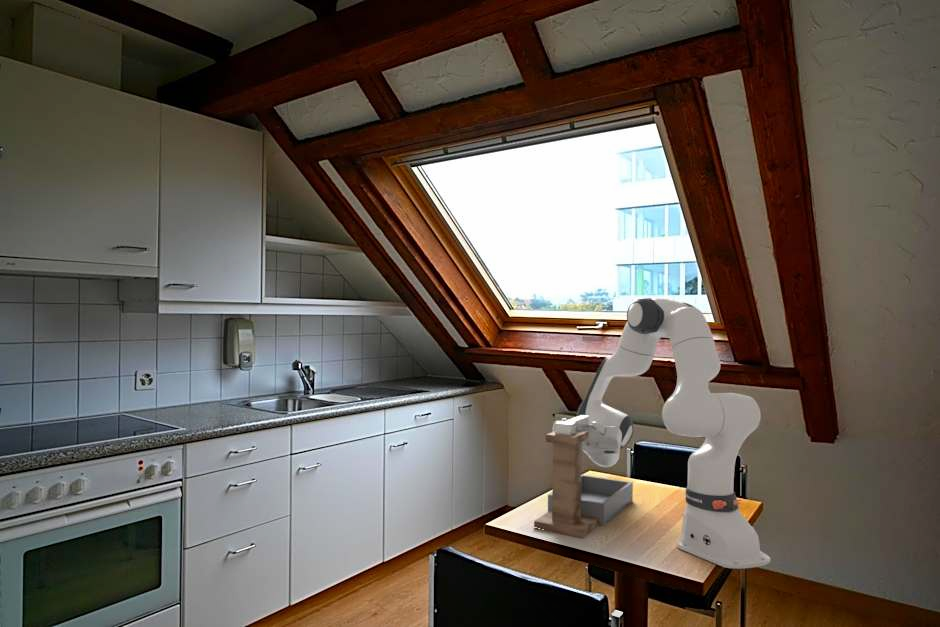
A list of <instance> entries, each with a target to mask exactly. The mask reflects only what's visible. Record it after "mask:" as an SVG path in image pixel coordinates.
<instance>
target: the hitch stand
mask: <svg viewBox="0 0 940 627" xmlns="http://www.w3.org/2000/svg"><path fill="white" fill-rule="evenodd" d="M588 433H589V431H580V430H579V431H576V434H574V435H571V436H567V435H558V434H555V431H554V432H549V433H547V434H545V436H546V437H545V442H546V443H552V492H553V493H552V492H551V493H552V510H551V511H549V512H548V511H547V512H546V513H544V514H543V515H541V516H539V517H538V518H537V519H535V520H534V522H533V528H534V527H537V528H540V529H544V530H547V531H546V532H549V531H551V533H556V534H559V533H560V534H561V535H564V534H565V536H569V537H573V536H575V537H574V538H578V537H580V539H584V538H585V537H586V536H587V535H588V534H590V533H591V532H592V531H594V529H596V528H597V527H598V526H599V525H598V518H594V517H589V516H584V515H581V475H582V462H583V461H582V459H583V458H582V457H583V456H582V454H583V453H582V451H583V450H582V441H584V440H586V439H588ZM595 527H596V528H595ZM540 529H539V530H540ZM544 530H543V531H544ZM589 532H590V533H589ZM583 537H584V538H583Z"/></svg>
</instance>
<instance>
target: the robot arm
mask: <svg viewBox="0 0 940 627" xmlns="http://www.w3.org/2000/svg"><path fill="white" fill-rule="evenodd" d="M626 320H627V321H626V323H625V325H624V327H623V330H622V332H621V335H620V338H619V341H618V344H617V348H616V350H615V351H614V352H613V354H612V355H607V356H606V357H605V358H604V359H603V360H602V362H601V364H599V367H598V369H597V371H596V372H595V375H594V377H593V380H592V382H591V384H590V386H589V389H588V390H587V393H586V395H585V397H584V399H583V400H582V401H581V403H580V404H579V407H578V409H577V412H576V417H578V416H580V415H585V416H589V424H588V427H586V428H583V429H581V430H580V431H589V433H588V439H586V440H584V441H582V451H583V453H585V455H586V456H587V457H588V458H589V459H590V460H591V461H592V462H593V463H595V465H597V466H599V467H603V468H610V467H612V466H614V465H615V464H616V463H617V462H618V460H619V459H620V451H621V450H623V449H624V448H625V447H626V446H627V445H628V444H629V442H630V441H631V439H632V438H633V435H634V422H633V419H632V418H631V416H630V415H629V414H626V413H625V412H622V411H621V410H618V409H616V408H614V407H611V406H609V405H607V404H605V403H604V402H603V397H604V395H605V393H606V391H607V388H608V387H609V384H610V383H611V380H612V379H613V378H615V377H624V378H625V377H637V376H641V375H643V374H644V373H646V372H647V371H649V369H650V367H651V364H652V362H653V360H654V356H655V353H656V349H657V345H658V343H659V340H660V339H661V338H664V339H665V338H666V339H669V341H670V346H671V350H672V354H673V360H674V363H675V370H676V376H677V378H676V386H675V389H674V390H673V393H672V394H671V395H670V396H669V397H668V398H667V399H666V401H665V403H664V404H663V406H662V410H661V415H662V416H661V417H662V422H663V425H664V426H665V427H666V429H667V430H668V431H669V433H670V434H672V435H673V434H674V435H677V436H681V437H682V436H683V437H689V438H698V437H699V438H700V437H701V438H702V437H705V440H704V441H703V443H702V445H701V446H700V447H699V448H698V449H695V451H693V452H692V453H691V454H690V455H689V458H688V459H687V460H688V461H687V486H686V487H685V493H684V494H685V502H686V506H685V510H684V513H683V517H682V525H681V531H680V532H681V534H680V539H679V541H678V542H677V548H678V549H680V550H681V551H685V552H687V553H689V554H692V555H694V556H696V557H698V558H701V559H703V560H706V561H708V562H711V563H713V564H715V565H718V566H720V567H722V568H725V569H726V568H727V569H736V570H737V569H751V568H758V567H763V566H765V565H769V564H770V563H771V561H772V560H771V557H770V556H769V555H768V554H766V553H764V552H763V551H761V549H760V548H761V547H760V539H759V535H758V533H757V532H756V530H755V528H754V527H753V526H751V524H750V523H749V522H748V520H747V519H746V517H744V515H743V514H742V512H741V511H740V510H739V508H740V507H739V505H741V504H742V503H741V502H742V499H738V498H737V496H736V492H735V491H734V478H735V466H736V461H737V460H736V459H737V456H738V453H739V451H740V449H741V447H742V446H743V444H744V442H745V441H746V439H747V438H748V437H749V436H750V435H751V434H752V433H753V432H754V431H756V429H758V427H759V425H760V422H761V417H762V416H761V415H762V414H761V409H760V406H759V404H758V402H757V401H756V400H755V398H753V397H752V396H750V395H746V394H741V393H736V392H711V391H710V388H709V383H710V382H711V381H712V380H714V379H715V378H716V377H717V375H718V374H719V372H720V370H721V367H722V366H721V364H722V363H721V361H720V357H719V353H718V351H717V347H716V343H715V340H714V337H713V334H712V331H711V328H710V326H709V323H708V322H707V319H706V317H705V315H704V314H703V312H702V311H701V310H700V309H698V308H697V307H695V306H694V305H692V304H690V303H687V302H679V301H676V300H671V299H668V298H655V297H654V298H651V297H638V298H635V299H634V300H633V301H632V302H631V303H630V304H629V306H628V308H627V312H626ZM567 420H568V419H567V418H561V420H555V421H554V422H553V424H552V429H551V430H552V432H554V431H555V423H557V422H560V421H567ZM552 432H551V433H552Z"/></svg>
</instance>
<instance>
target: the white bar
mask: <svg viewBox="0 0 940 627" xmlns="http://www.w3.org/2000/svg"><path fill="white" fill-rule="evenodd" d="M559 421H560V422H557V423H555V434H558V435H567V436H571V435H574V434H576V431H579V430H581V429H583V428H586V427H588V424H589V416H585V415H580V416H578V417H577V416H574V417H572V418H570V419H567V421H561V420H559Z"/></svg>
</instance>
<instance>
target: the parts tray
mask: <svg viewBox="0 0 940 627" xmlns="http://www.w3.org/2000/svg"><path fill="white" fill-rule="evenodd" d="M633 487H634V482H633V481H627V480H626V481H625V480H620V479H619V480H618V479H612V478H605V477H599V476H593V475H585V474H581V515H584V516H589V517H594V518H598V526H602V525H604V526H605V524H606V523H607V522H608V523H609V522H610V521H611V520H613V519H614V518H615V517H616V516H617V515H619V514H620V513H621V512H622V511H623V510H624V509H625V508H627V507H628V506H629V505H630V504H631V503H632V502H634V500H633V497H634V496H633V495H634V494H633V493H634V492H633V490H634V488H633ZM552 493H553V491H552V492H550V493H548V494H547V512H549V511H551V510H552ZM627 505H628V506H627ZM626 506H627V507H626ZM621 510H622V511H621ZM620 511H621V512H620ZM619 512H620V513H619ZM615 515H616V516H615ZM614 516H615V517H614ZM613 517H614V518H613ZM612 518H613V519H612ZM608 523H607V524H608ZM607 524H606V525H607Z"/></svg>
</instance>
